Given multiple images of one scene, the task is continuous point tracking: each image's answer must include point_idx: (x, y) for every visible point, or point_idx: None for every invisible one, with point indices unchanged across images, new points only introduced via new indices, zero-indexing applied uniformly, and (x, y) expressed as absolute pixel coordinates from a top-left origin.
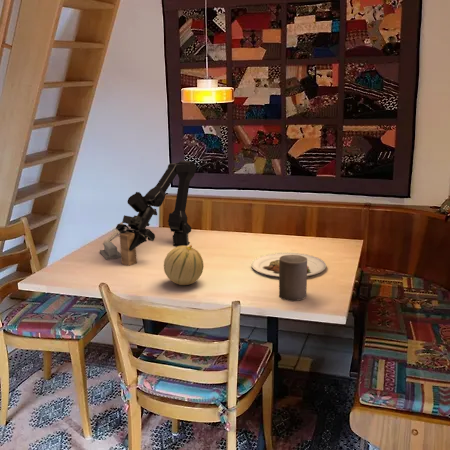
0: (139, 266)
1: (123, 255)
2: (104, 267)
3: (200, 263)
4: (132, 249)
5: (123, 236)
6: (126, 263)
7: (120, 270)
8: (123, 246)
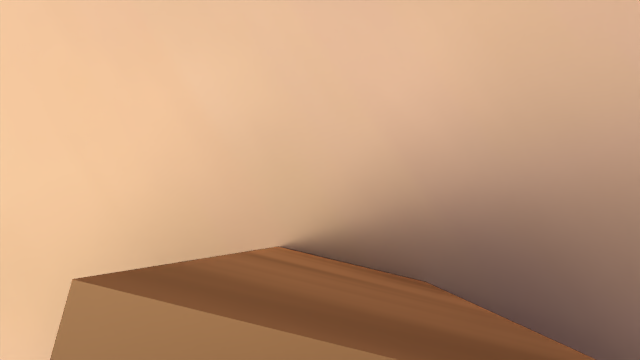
0: None
1: (394, 282)
2: (562, 67)
3: None
4: None
5: (419, 347)
6: (327, 259)
7: (281, 43)
8: (397, 293)
